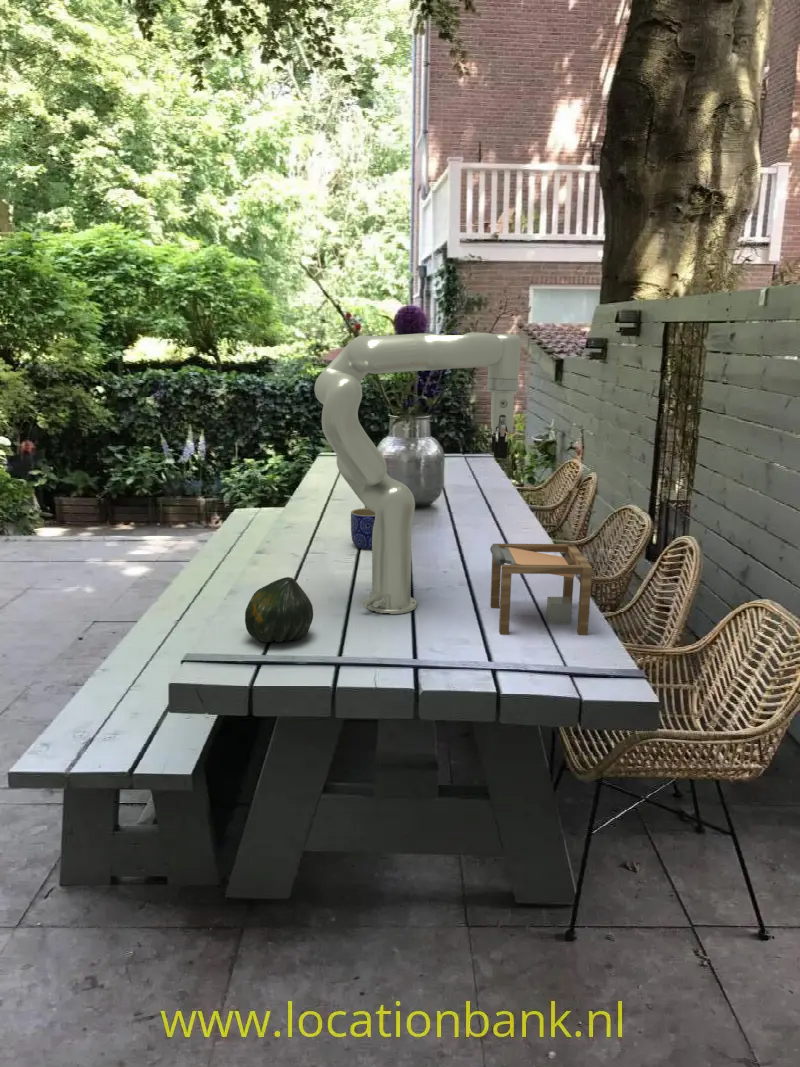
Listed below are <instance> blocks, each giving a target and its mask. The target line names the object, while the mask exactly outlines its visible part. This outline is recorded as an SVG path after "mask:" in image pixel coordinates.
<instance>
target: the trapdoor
mask: <svg viewBox="0 0 800 1067" xmlns="http://www.w3.org/2000/svg"><path fill="white" fill-rule="evenodd" d="M493 544H494V545H493ZM493 544H491V546H490V553H491V556H492V555H493V558H494V560H495V563H496V564H497V565H499V566H501V567H502V565H568V563H567V562H566V560H565V556H564V557H563V556H559V555H555V554H549V553H545V552H533V551H527V550H521V549H516V548H510V547H504V549H502V548H500V546H499V545H497V544H498V543H493ZM553 575H555V576H559V577H564V576H565V577H571V578H574V579H575V575H576V574H553Z"/></svg>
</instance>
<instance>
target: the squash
mask: <svg viewBox="0 0 800 1067" xmlns="http://www.w3.org/2000/svg"><path fill="white" fill-rule="evenodd" d="M313 618H314V607H313V604H312V602H311V600H310V598H309V597H308V595H307V594H306V592H305V591H304V590H303V588H302V587H301V586H300V585H299V583H298V582H297V581H296V580H295V579H294V578H293V577H290V576H287V577H281V578H279V579H277V580H275V581H272V582H270V583H268V584H266V585H264V586H262V587H261V588H258V589H257V590H256V591H255V592H254V593H253V594H252V597H251V598H250V600H249V602H248V604H247V606H246V608H245V612H244V622H245V623H244V624H245V629H246V631H247V632H248V635H249V636H251V637H252V638H253V639H254V640H255V639H256V640H257V641H258V640H259V641H261V642H263V643H271V642H273V641H275V642H279V643H281V642H283V641H299V640H301V639H303V638H305V637H306V636H307V635H308V633H309V631H310V628H311V625H312V622H313Z"/></svg>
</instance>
